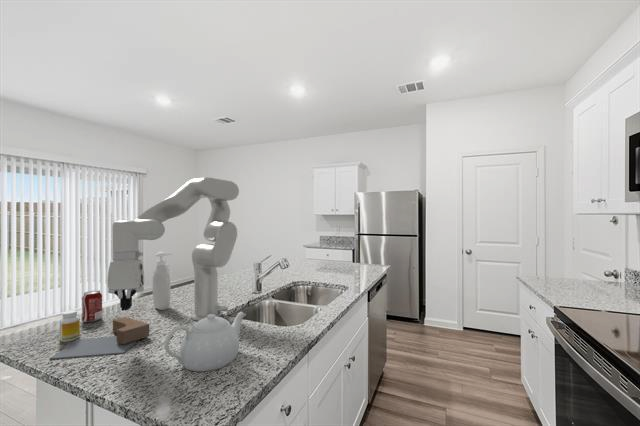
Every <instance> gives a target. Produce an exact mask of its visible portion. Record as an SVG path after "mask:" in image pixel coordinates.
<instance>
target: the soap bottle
mask: <svg viewBox="0 0 640 426" xmlns="http://www.w3.org/2000/svg"><path fill="white" fill-rule="evenodd" d="M172 253H173V252H165V251H158V252H157V253H155V257H159V259H157V260H156V267H155V270H154V272H153V276H152V289H151V290H152V300H153V305H154V307H155V309H156V310H160V311H165V310H168V309H169V308H170V304H171V294H172V293H171V291H172V290H171V278H170V271H169V270H168V268H167V265H166V260H165V259H163V258H164V257H165V256H171V255H173V254H172Z"/></svg>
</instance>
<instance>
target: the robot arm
mask: <svg viewBox="0 0 640 426" xmlns="http://www.w3.org/2000/svg"><path fill="white" fill-rule="evenodd" d="M239 193H240V189H239V186H238V184H236V183H235V182H233V181H232V180H226V179H221V178H213V177H196V178H192V179H190V180H188V181H187V182H185V184H183V185H182V186H181V187H179V188H178V189H177V190H176V191H175V192H174V193H172V194H171V195H169V196H168V197H167V198H165V199H163V200H161V201H159V202H158V203H156V204H155V205H153V206H151V207H149V208H148V209H147V210H146V209H145V210H144V211H143V212H142V213H141V214H140V215H138V216H137V217H135V218H134V219H133V220H132V219H131V220H125V219H124V220H116V221H114V222H113V223H112V231H111V232H112V260H110V262H109V266H108V272H107V290H108V291H107V293H108V294H113V295H115V296H117V297H118V300H119V306H120V308H121V312H123V311H129V310H130V309H131V307H132V306H133V297H134V295H136V294H137V293H141V292H143V291H144V289H145V288H144V285H145V281H146V279H145V269H144V264H143V260H142V258H140V257H143V256H144V253H143V252H142V251H141V252H140V250H139V249H140V245H139V243H140V242H139V241H142V240H146V241H154V240H159V239H160V238H161V237H163V236H164V234H165V231H166V230H165V224H164V223H163V222H166V221H167V220H170V219H173V218H176V217H179V216H181V215H184V214H186V213H187V212H189V210H190V209H191V208H192V207H193V206H194V205H195V204H196V203H198V202H199V201H200V200H201V199H205V198H207V199H208V201H209V203H210V207H211V210H210V214H209V217H208V218H207V219H208V220H207V221H206V224H205V227H204V230H203V237H204V239H205V240H206V241H207V242H210V243H201V244H198V245H197V246H195V247H194V248H193V250H192V253H191V261H192V262H191V263H192V265H193V266H192V267H193V273H194V274H193V276H194V282H193V283H194V284H193V285H194V312H192V313H191V315H190V319H191V320H193V321H196V322H198V321H199V320H201V319H204V318H207V316H208V315H209V314H214V315H215V317H221V316H222V312H228V311H229V306H227V305H221V304H220V302H219V299H218V297H219V291H218V290H219V288H218V287H219V286H218V285H219V284H218V282H219V280H218V278H219V275H218V269H217V268H224V267H225V266H226V265H227V264H228V263H229V261H230V259H231V256H232V253H233V250H234V247H235V245H236V241H237V239H238V229H237V225H235V223H233V222H232V221H229V220H230V215H231V209H230V205H229V203H228V201H233V200H235V199H237V198H238V196H239ZM212 243H214V244H212Z"/></svg>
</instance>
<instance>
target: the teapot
mask: <svg viewBox="0 0 640 426" xmlns="http://www.w3.org/2000/svg"><path fill="white" fill-rule="evenodd" d="M245 316H247V314H246V313H244V312H243V311H240V312H238V313H237V315H236V317H235V318H234V320H233V322H232V324H231V323H230V321H228V320H227V319H225V318H224V317H221V316H219V317H215V315H214V314H209V315H208V316H207V318H204V319H201V320H199V321H196V322H195V323H193V324H192V325H191V327H190V328H188V327H187V326H185V325H178V326H176V327H174V328H172V329H171V330H170V332H168V334H167V336H166V338H165V340H164V350H165V351H166V353H167V354H168V356H170V357H172V358H175V359H177V362H178V364H179V365H182V366H183V367H184V368H185V369H187V370H189V371H191V372H192V371H193V372H210V371H215V370H218V369H222V368H223V367H227V365H230V364H231V363H232V362H233V361H234V360H235V359H236V357H237V356H238V354H239V349H240V333H241V326H242V320H243V318H244V317H245ZM180 330H184V331H185V333H186V334H185V335H184V337H183V339H182V341H181V343H180V347H179V354H177V353H176V352H173V351H172V350H171V349H170V348H169V344H170V341H171V338H172V337H173V335H174V334H175V333H176V332H177V331H178V332H179V331H180Z"/></svg>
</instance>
